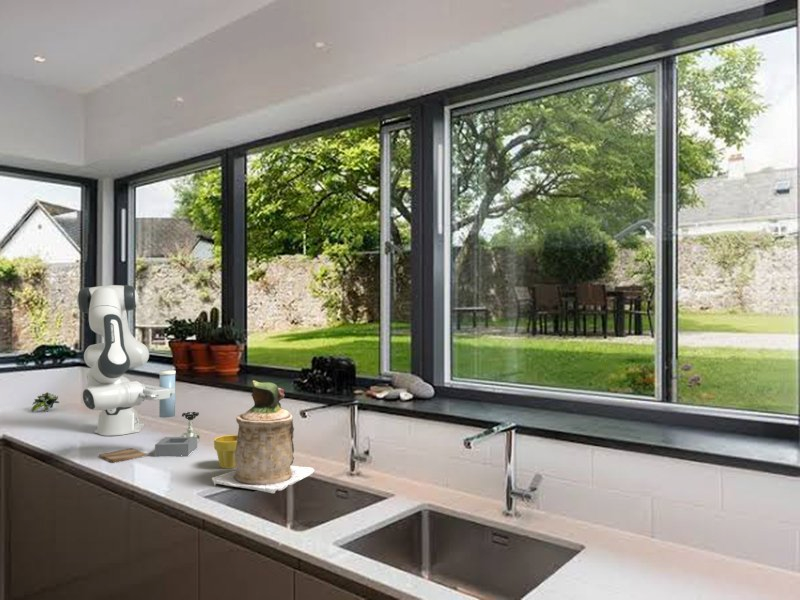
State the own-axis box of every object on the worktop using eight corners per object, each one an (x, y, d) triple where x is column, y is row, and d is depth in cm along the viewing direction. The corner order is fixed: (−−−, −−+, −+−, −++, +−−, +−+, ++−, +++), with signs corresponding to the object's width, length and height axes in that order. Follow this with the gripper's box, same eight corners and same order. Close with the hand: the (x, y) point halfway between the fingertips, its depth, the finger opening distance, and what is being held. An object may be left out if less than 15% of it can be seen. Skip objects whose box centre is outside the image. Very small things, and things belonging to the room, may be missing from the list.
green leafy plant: (46, 420, 314) (60, 399, 320) (51, 419, 306) (65, 398, 312) (25, 409, 309) (39, 389, 315) (30, 408, 301) (44, 387, 307)
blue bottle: (161, 414, 229) (161, 370, 229) (177, 414, 229) (177, 370, 229) (156, 417, 223) (157, 372, 223) (172, 417, 223) (173, 371, 224)
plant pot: (209, 470, 204) (209, 441, 204) (220, 461, 214) (220, 434, 214) (239, 470, 203) (239, 441, 203) (248, 462, 214) (248, 434, 214)
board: (98, 457, 220) (98, 454, 220) (131, 450, 229) (131, 448, 229) (113, 463, 212) (113, 460, 212) (146, 456, 222) (146, 453, 221)
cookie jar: (277, 495, 178) (277, 387, 178) (208, 486, 187) (208, 383, 187) (316, 472, 201) (316, 377, 201) (254, 465, 210) (254, 374, 210)
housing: (165, 448, 233) (165, 437, 233) (197, 448, 234) (197, 436, 234) (155, 456, 221) (155, 444, 221) (188, 456, 222) (188, 444, 222)
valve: (193, 445, 238) (193, 415, 238) (178, 444, 240) (178, 414, 240) (202, 441, 245) (202, 412, 245) (187, 440, 246) (187, 411, 246)
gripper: (147, 387, 209) (183, 383, 220) (120, 382, 223) (156, 378, 233) (147, 405, 210) (183, 400, 220) (120, 399, 223) (156, 394, 233)
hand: (169, 389), depth 227 cm, fingers closed on blue bottle, 5 cm apart
